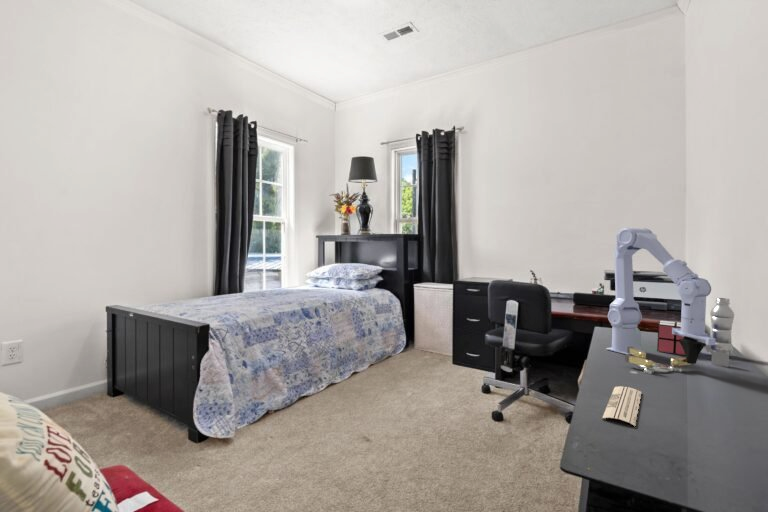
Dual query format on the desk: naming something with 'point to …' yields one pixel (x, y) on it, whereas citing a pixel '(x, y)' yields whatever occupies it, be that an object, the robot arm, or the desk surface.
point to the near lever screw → (636, 352)
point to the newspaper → (623, 404)
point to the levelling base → (660, 368)
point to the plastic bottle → (722, 325)
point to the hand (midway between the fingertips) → (691, 363)
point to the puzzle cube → (669, 338)
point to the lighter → (718, 356)
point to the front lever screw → (639, 361)
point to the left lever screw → (679, 361)
